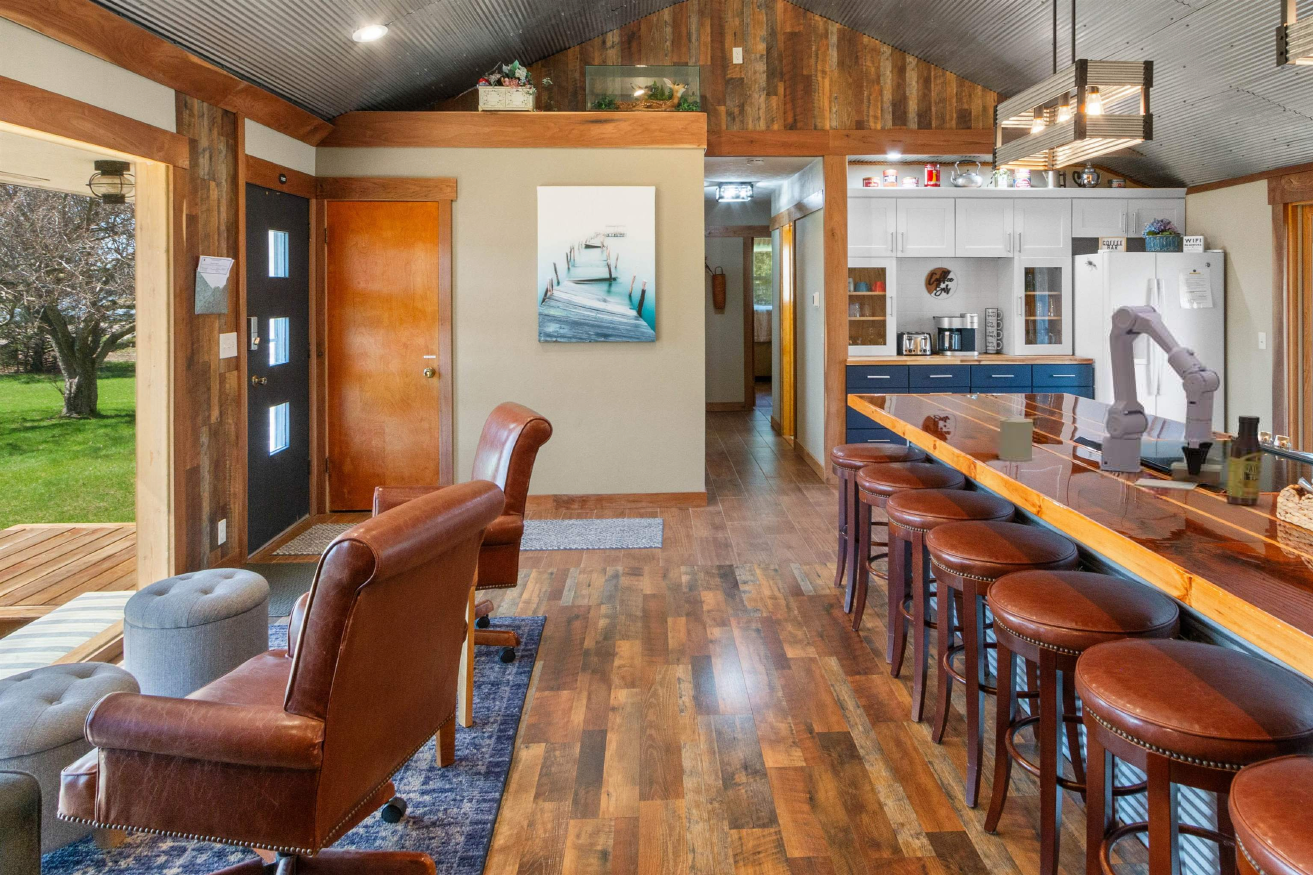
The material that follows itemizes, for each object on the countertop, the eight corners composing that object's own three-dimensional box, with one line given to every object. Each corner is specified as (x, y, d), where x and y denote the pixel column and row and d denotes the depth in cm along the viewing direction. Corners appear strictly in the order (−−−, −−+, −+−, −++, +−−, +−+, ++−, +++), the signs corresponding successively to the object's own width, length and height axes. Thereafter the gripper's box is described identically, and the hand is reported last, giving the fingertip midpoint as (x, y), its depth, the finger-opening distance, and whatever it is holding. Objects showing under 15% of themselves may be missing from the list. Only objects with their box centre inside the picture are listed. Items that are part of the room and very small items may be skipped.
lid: (1170, 470, 241) (1170, 465, 240) (1173, 466, 245) (1174, 461, 245) (1218, 474, 234) (1219, 468, 234) (1221, 470, 239) (1221, 465, 239)
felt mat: (1133, 485, 238) (1133, 483, 238) (1140, 479, 245) (1140, 478, 245) (1193, 490, 230) (1193, 489, 230) (1198, 484, 237) (1198, 483, 237)
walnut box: (1171, 481, 241) (1172, 468, 241) (1174, 478, 245) (1175, 465, 245) (1216, 485, 235) (1217, 471, 235) (1219, 482, 239) (1220, 468, 239)
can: (995, 456, 284) (996, 416, 283) (1027, 456, 284) (1028, 416, 282) (1003, 461, 275) (1004, 420, 274) (1036, 461, 274) (1037, 420, 273)
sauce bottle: (1245, 507, 211) (1251, 418, 209) (1219, 502, 217) (1224, 415, 214) (1265, 504, 214) (1271, 416, 211) (1238, 499, 220) (1244, 413, 217)
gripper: (1213, 423, 230) (1210, 478, 232) (1221, 416, 241) (1217, 469, 243) (1180, 421, 234) (1177, 476, 236) (1189, 415, 245) (1186, 467, 247)
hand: (1195, 472), depth 240 cm, fingers open, 7 cm apart
